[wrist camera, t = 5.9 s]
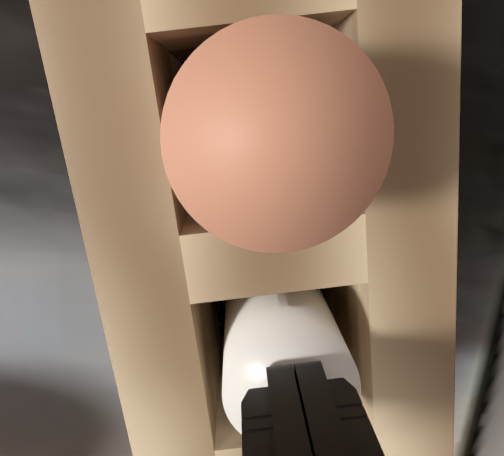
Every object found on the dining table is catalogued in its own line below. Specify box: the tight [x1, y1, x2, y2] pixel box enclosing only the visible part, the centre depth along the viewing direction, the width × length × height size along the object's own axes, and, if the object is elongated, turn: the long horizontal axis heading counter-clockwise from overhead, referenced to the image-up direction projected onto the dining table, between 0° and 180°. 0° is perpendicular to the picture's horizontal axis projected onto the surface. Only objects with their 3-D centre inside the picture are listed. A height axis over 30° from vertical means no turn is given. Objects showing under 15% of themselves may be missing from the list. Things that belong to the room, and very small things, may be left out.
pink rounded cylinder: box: [160, 14, 394, 253], centre depth 10 cm, size 4×4×7 cm
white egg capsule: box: [222, 289, 361, 435], centre depth 15 cm, size 4×4×7 cm
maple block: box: [29, 0, 462, 456], centre depth 14 cm, size 10×22×7 cm, turn 6°
